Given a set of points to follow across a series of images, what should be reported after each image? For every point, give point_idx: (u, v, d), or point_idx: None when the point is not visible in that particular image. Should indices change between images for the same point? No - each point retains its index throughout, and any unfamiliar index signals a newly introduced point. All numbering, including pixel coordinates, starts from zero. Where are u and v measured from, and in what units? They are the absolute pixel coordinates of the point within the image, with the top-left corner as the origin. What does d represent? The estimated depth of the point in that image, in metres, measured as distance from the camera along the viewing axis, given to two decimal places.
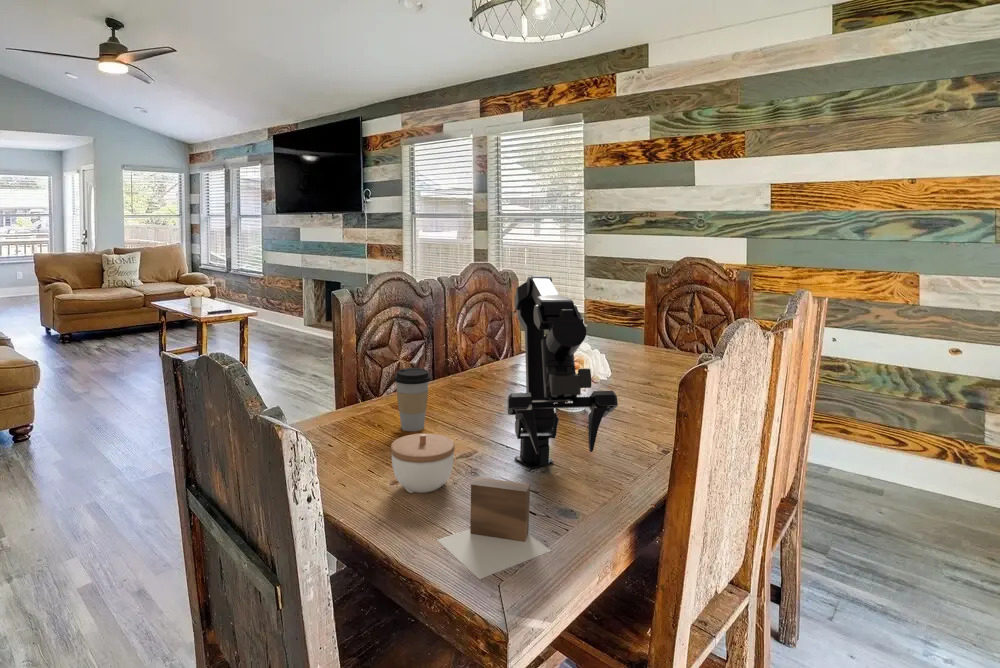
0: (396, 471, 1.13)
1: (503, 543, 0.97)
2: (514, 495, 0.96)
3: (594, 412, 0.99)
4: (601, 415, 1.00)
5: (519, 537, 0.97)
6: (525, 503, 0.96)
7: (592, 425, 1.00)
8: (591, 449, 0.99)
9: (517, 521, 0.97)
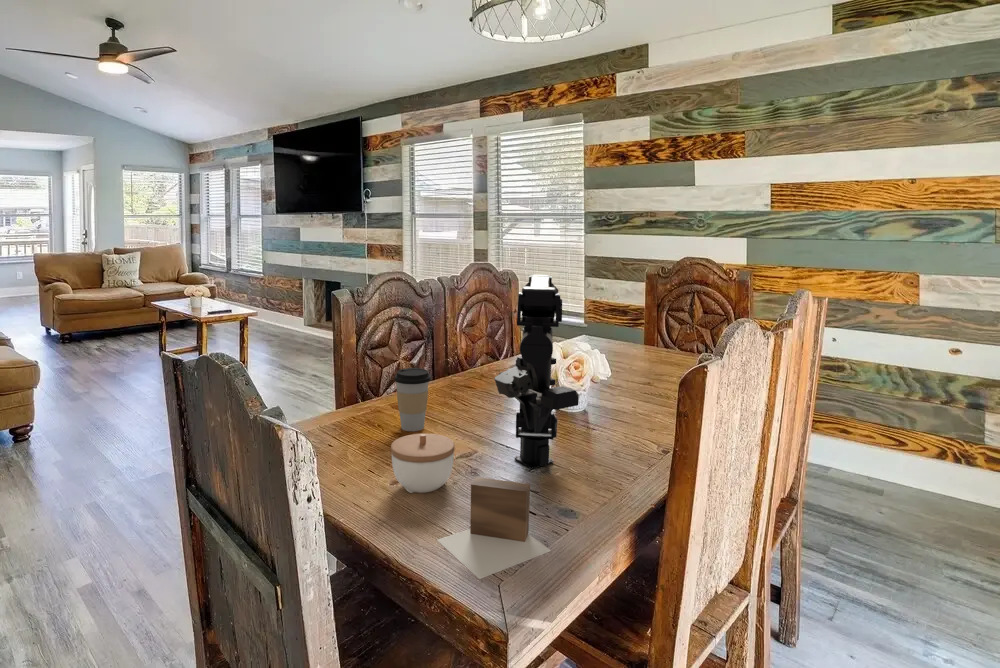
0: (396, 471, 1.13)
1: (503, 543, 0.97)
2: (514, 495, 0.96)
3: (530, 404, 1.10)
4: (536, 407, 1.09)
5: (519, 537, 0.97)
6: (525, 503, 0.96)
7: (534, 412, 1.11)
8: (535, 431, 1.13)
9: (517, 521, 0.97)
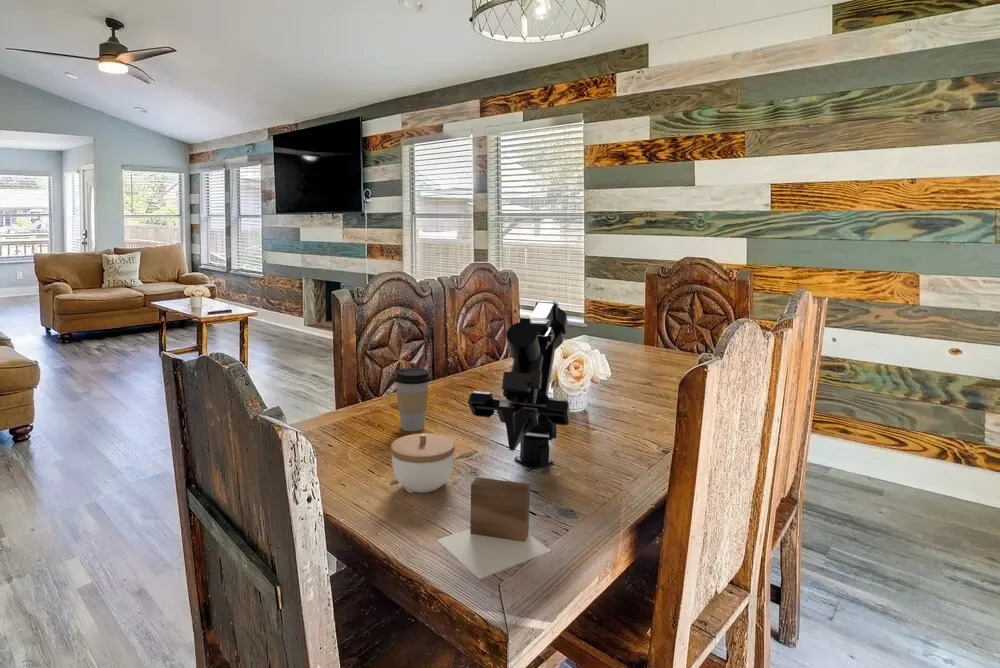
0: (396, 471, 1.13)
1: (503, 543, 0.97)
2: (514, 495, 0.96)
3: (520, 412, 1.06)
4: (526, 416, 1.06)
5: (519, 537, 0.97)
6: (525, 503, 0.96)
7: (517, 425, 1.06)
8: (512, 446, 1.05)
9: (517, 521, 0.97)
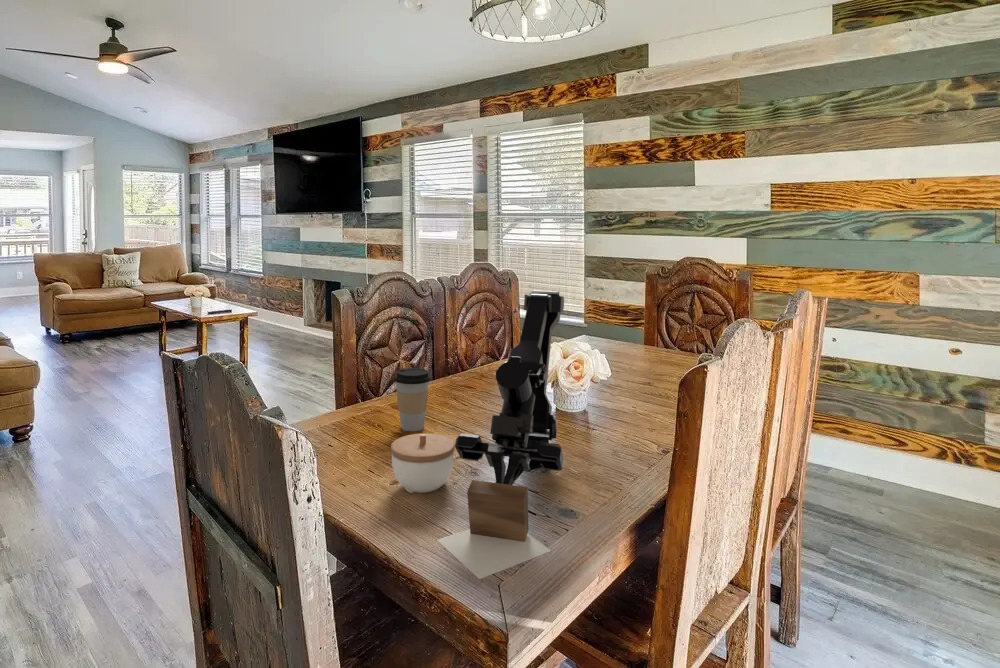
0: (396, 471, 1.13)
1: (503, 543, 0.97)
2: (511, 502, 0.94)
3: (509, 458, 1.00)
4: (516, 462, 1.00)
5: (519, 538, 0.97)
6: (523, 509, 0.94)
7: (507, 472, 1.00)
8: None
9: (516, 524, 0.96)
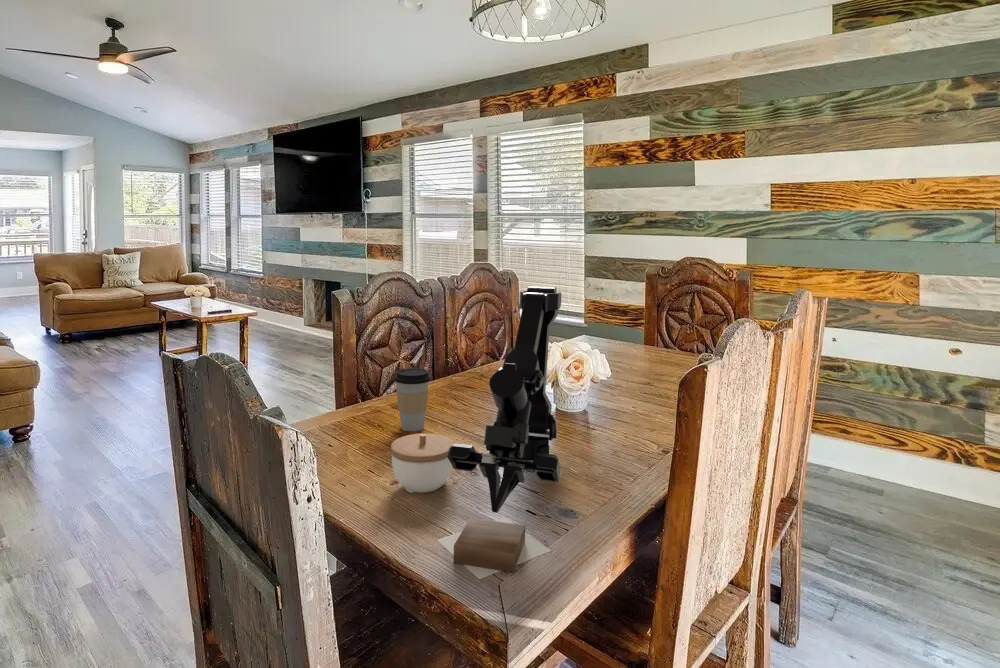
0: (396, 471, 1.13)
1: None
2: None
3: (504, 470, 0.96)
4: (511, 474, 0.96)
5: None
6: (515, 564, 0.91)
7: (501, 484, 0.96)
8: (495, 508, 0.94)
9: None
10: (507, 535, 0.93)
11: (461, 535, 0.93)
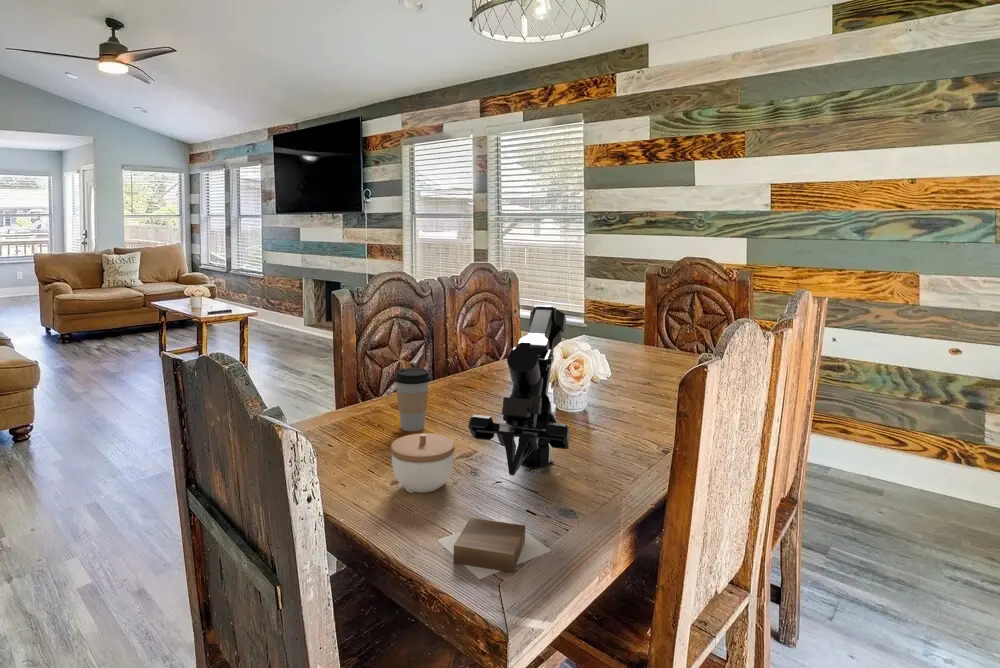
0: (396, 471, 1.13)
1: None
2: None
3: (519, 437, 1.07)
4: (526, 441, 1.07)
5: None
6: (515, 564, 0.91)
7: (517, 450, 1.07)
8: (512, 471, 1.05)
9: None
10: (507, 535, 0.93)
11: (461, 535, 0.93)
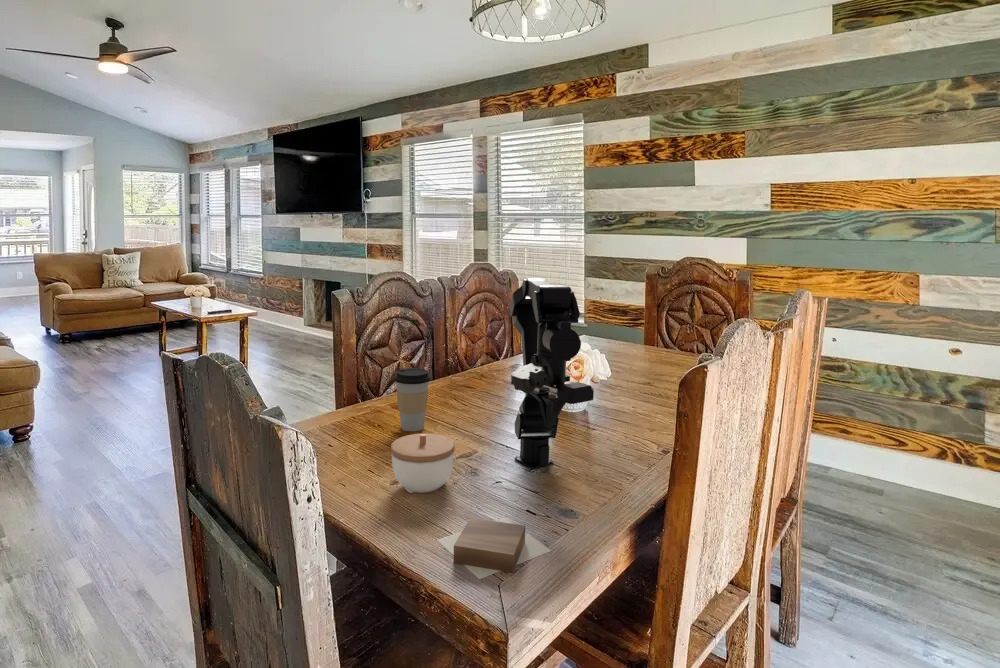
0: (396, 471, 1.13)
1: None
2: None
3: (543, 399, 1.13)
4: (549, 402, 1.12)
5: None
6: (515, 564, 0.91)
7: (546, 407, 1.14)
8: (547, 426, 1.15)
9: None
10: (507, 535, 0.93)
11: (461, 535, 0.93)
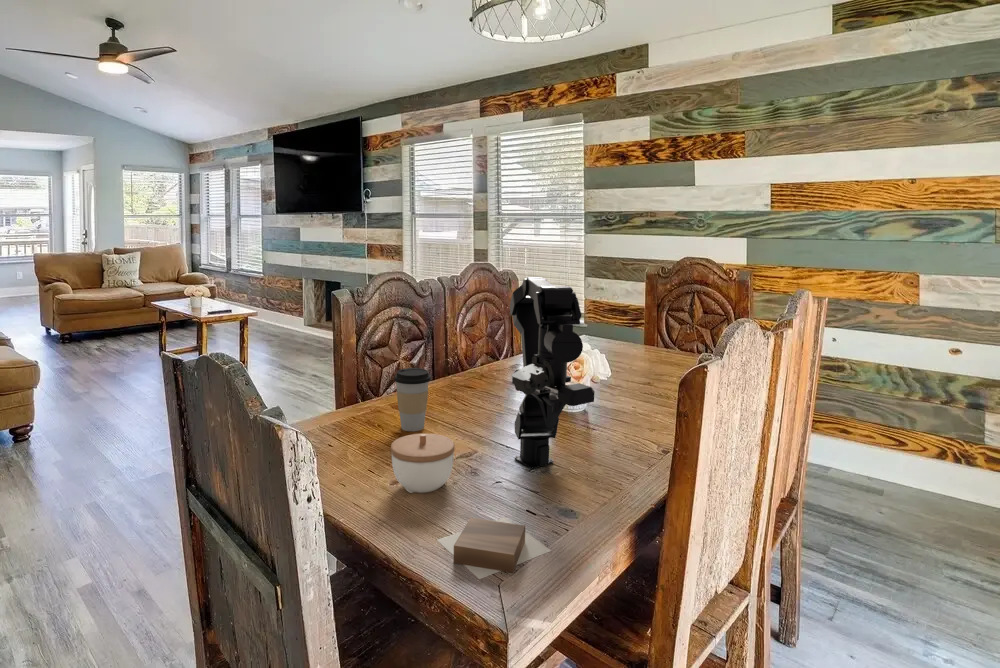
0: (396, 471, 1.13)
1: None
2: None
3: (544, 399, 1.13)
4: (549, 403, 1.12)
5: None
6: (515, 564, 0.91)
7: (547, 408, 1.14)
8: (548, 426, 1.16)
9: None
10: (507, 535, 0.93)
11: (461, 535, 0.93)
